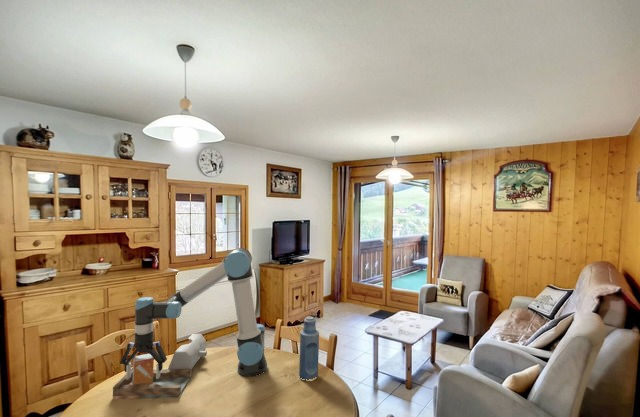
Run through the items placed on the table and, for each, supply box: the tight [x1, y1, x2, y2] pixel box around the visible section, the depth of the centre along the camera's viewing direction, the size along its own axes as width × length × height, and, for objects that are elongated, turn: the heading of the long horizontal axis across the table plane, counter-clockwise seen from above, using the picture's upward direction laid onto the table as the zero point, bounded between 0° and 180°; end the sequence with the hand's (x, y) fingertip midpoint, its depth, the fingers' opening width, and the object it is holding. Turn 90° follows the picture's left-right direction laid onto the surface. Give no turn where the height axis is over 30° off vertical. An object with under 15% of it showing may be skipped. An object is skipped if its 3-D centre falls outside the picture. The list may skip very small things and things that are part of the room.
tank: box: [167, 333, 208, 369], centre depth 171 cm, size 25×16×12 cm, turn 1°
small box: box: [132, 353, 155, 385], centre depth 149 cm, size 8×6×13 cm
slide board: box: [112, 367, 193, 400], centre depth 149 cm, size 28×17×5 cm, turn 95°
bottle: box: [298, 315, 320, 380], centre depth 162 cm, size 10×10×30 cm
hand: (143, 378), depth 149 cm, fingers open, 12 cm apart
